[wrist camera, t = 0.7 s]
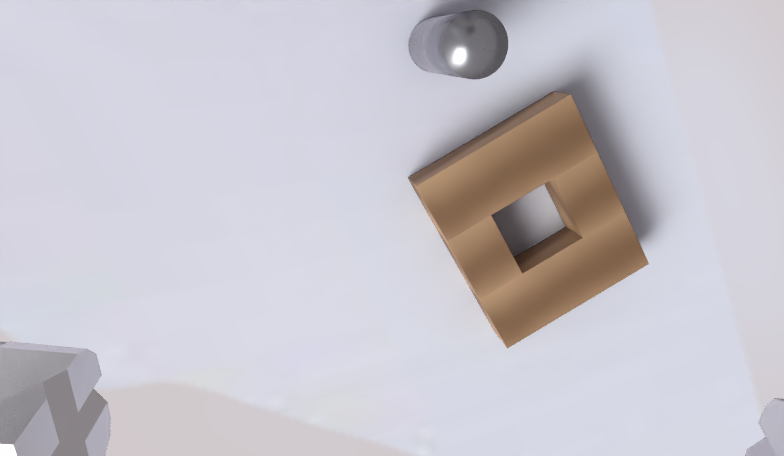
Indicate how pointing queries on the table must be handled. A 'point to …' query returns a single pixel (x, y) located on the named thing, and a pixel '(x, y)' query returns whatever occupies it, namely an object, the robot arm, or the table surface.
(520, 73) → the table surface
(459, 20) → the pin
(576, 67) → the table surface
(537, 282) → the hole plate
